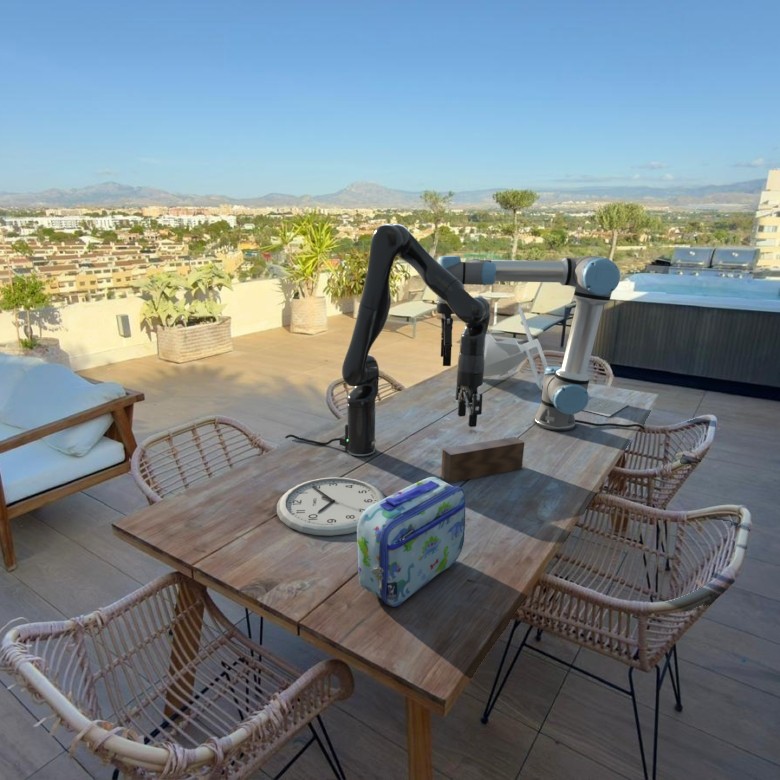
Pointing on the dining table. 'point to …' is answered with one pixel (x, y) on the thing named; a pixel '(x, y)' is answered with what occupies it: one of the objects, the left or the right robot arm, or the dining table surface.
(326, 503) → the wall clock
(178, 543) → the dining table surface
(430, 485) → the lunch box
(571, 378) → the right robot arm
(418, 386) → the dining table surface
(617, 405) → the invitation card
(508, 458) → the bar
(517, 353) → the white plastic object
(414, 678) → the dining table surface
